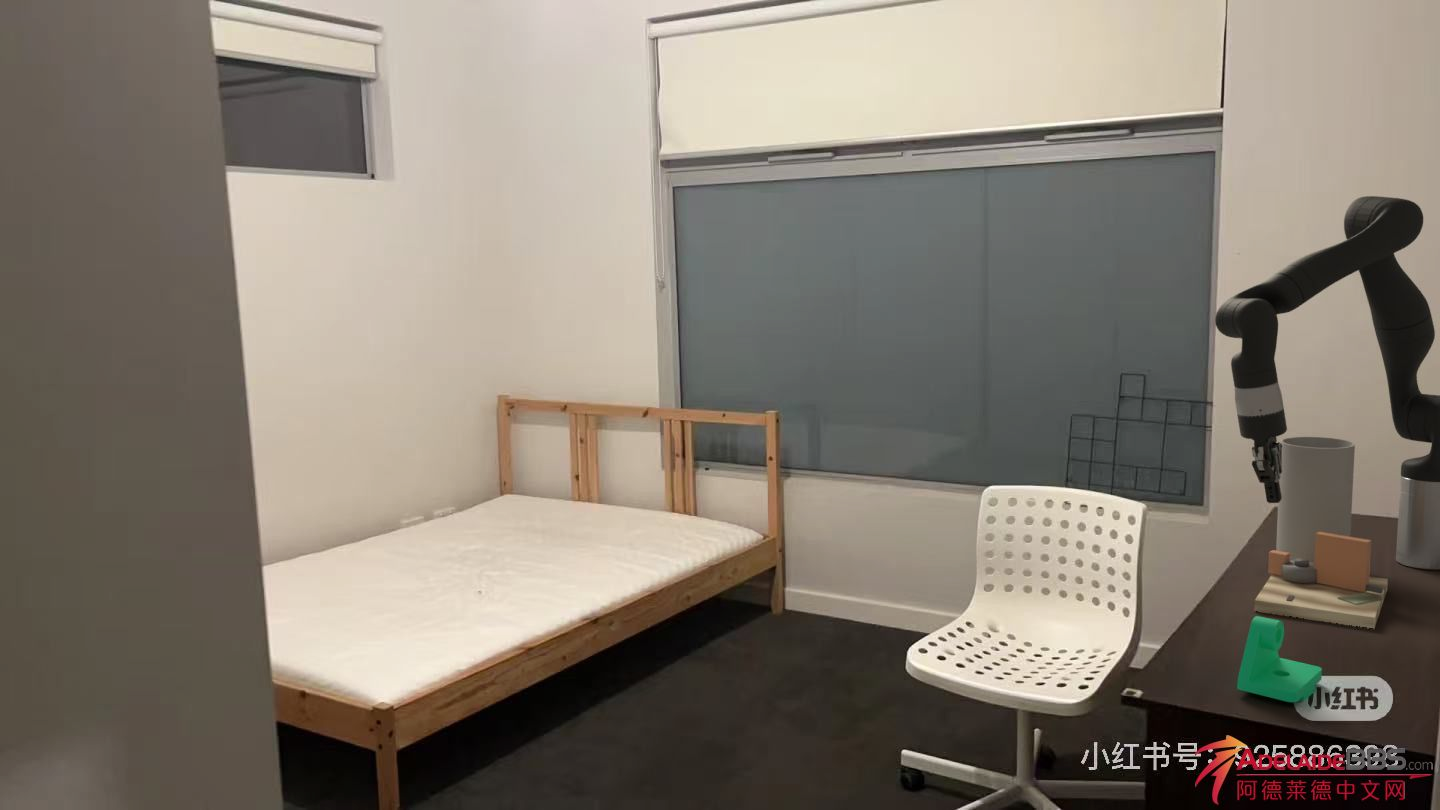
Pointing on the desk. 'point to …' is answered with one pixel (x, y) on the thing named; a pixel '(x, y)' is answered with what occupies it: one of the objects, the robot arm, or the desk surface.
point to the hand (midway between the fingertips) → (1274, 501)
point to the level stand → (1322, 601)
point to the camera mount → (1274, 665)
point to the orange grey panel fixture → (1329, 563)
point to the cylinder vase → (1314, 492)
